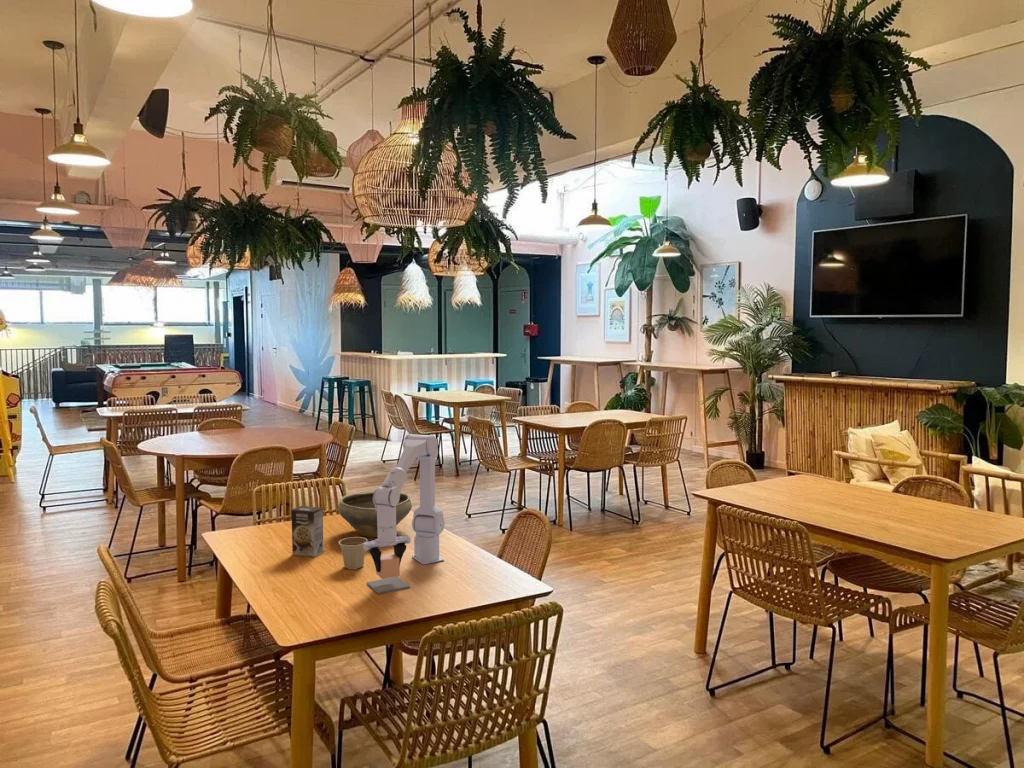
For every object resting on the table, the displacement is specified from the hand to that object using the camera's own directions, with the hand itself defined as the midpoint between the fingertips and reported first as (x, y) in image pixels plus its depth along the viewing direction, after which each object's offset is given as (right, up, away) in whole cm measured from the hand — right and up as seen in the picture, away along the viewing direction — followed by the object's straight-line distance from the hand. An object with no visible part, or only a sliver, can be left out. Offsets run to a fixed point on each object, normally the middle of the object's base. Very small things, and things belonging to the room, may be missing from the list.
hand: (387, 569), depth 223 cm
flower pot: (-14, -4, +19) cm, 24 cm away
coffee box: (-34, -3, +33) cm, 47 cm away
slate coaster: (0, -5, 0) cm, 5 cm away
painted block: (0, -2, 0) cm, 2 cm away
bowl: (-14, -1, +57) cm, 59 cm away
